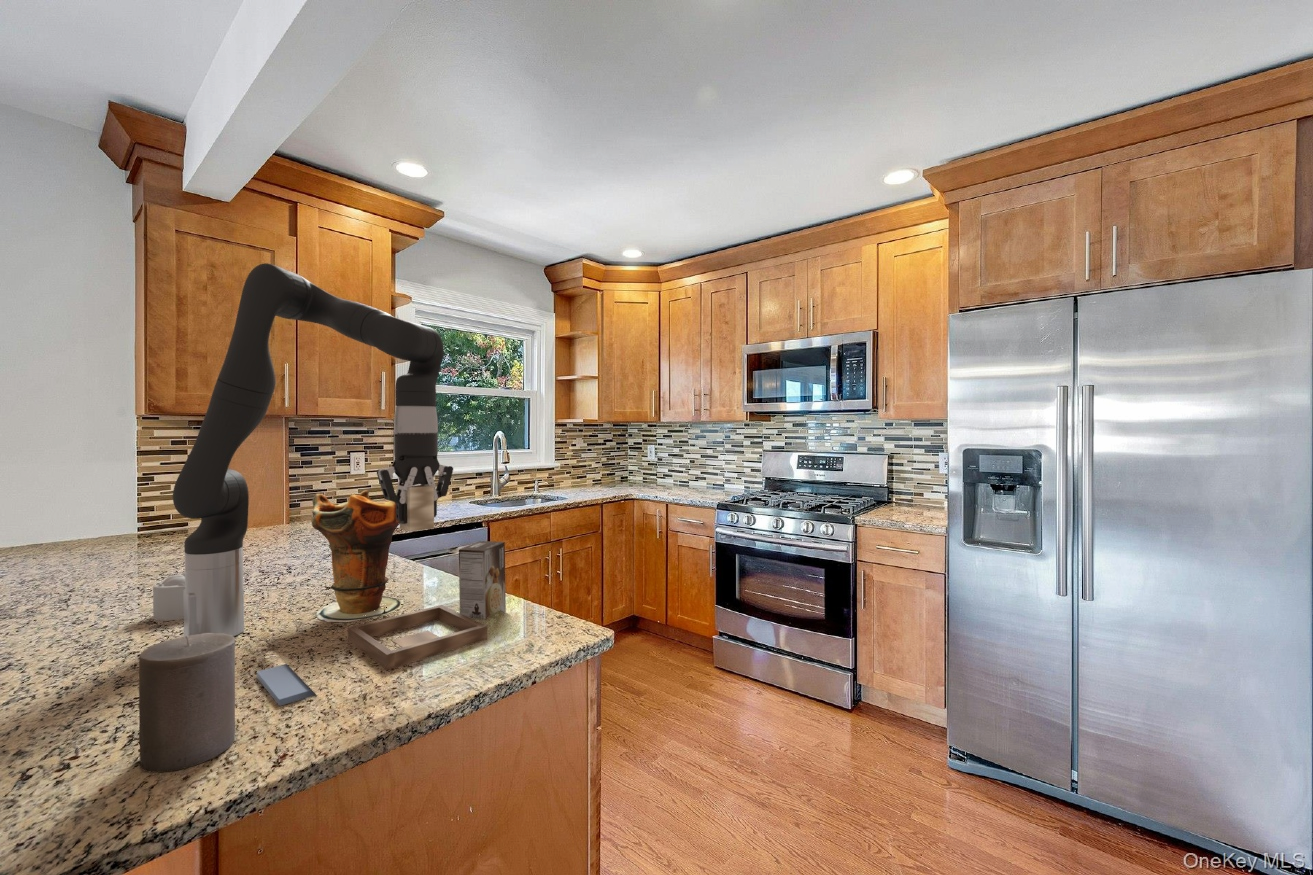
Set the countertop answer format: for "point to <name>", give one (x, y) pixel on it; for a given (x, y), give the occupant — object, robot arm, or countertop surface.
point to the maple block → (419, 508)
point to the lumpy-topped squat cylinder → (169, 598)
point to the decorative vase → (357, 555)
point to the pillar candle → (186, 701)
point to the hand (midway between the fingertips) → (416, 521)
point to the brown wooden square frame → (416, 636)
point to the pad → (284, 684)
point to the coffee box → (482, 579)
